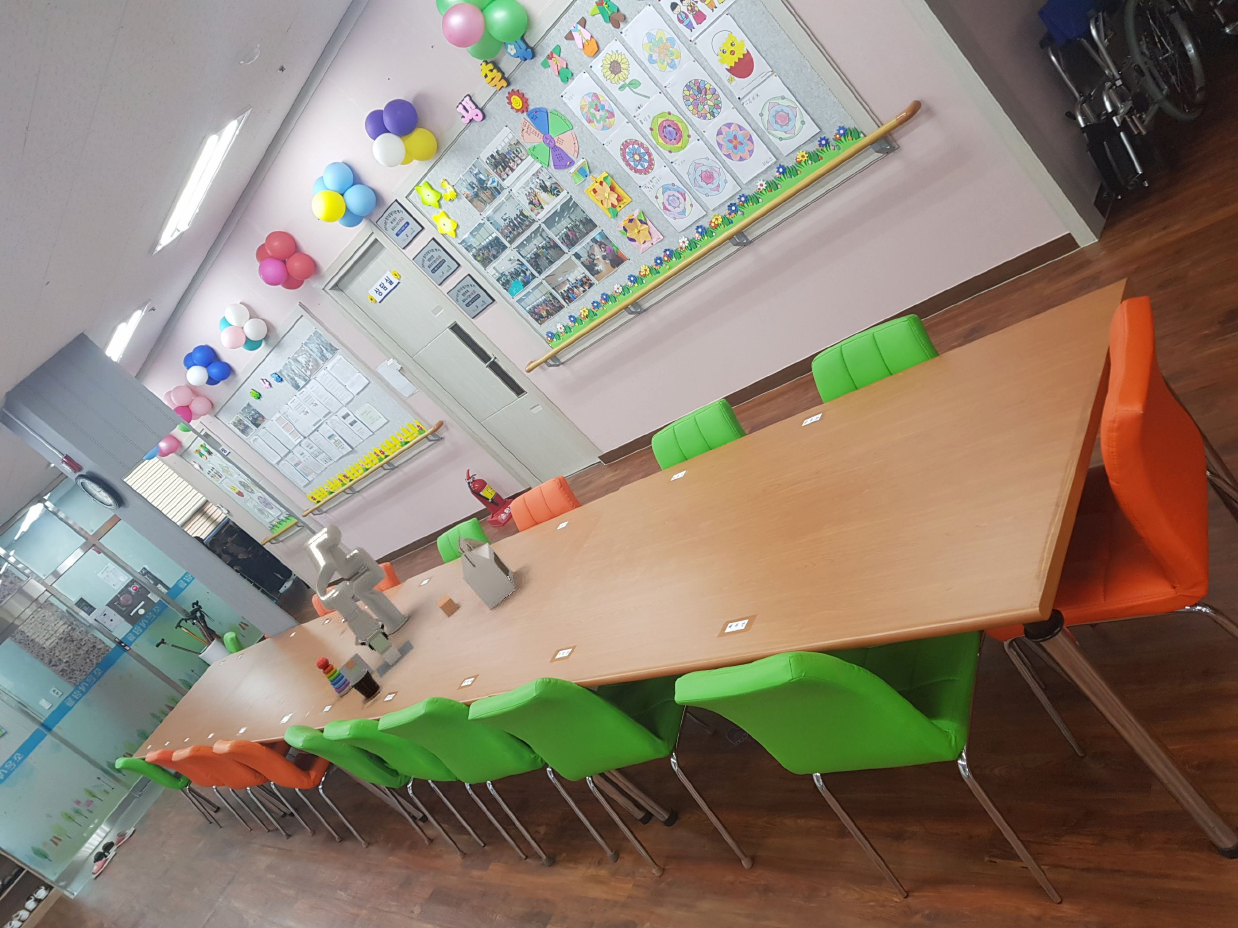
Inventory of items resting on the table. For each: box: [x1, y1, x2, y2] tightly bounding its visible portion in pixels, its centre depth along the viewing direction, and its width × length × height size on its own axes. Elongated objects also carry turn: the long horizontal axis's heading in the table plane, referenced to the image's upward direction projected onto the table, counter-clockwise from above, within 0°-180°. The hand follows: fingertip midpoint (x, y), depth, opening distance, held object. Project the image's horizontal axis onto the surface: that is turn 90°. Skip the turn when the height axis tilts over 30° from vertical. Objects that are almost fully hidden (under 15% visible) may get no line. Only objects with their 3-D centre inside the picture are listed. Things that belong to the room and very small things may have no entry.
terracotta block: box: [436, 594, 460, 618], centre depth 361 cm, size 8×6×6 cm
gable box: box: [457, 535, 517, 610], centre depth 338 cm, size 22×13×28 cm, turn 13°
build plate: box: [375, 640, 415, 679], centre depth 352 cm, size 14×18×1 cm
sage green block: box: [367, 630, 391, 654], centre depth 349 cm, size 8×6×6 cm
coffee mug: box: [350, 669, 381, 701], centre depth 332 cm, size 12×9×10 cm
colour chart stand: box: [337, 652, 375, 683], centre depth 353 cm, size 4×10×12 cm, turn 120°
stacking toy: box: [316, 657, 353, 697], centre depth 359 cm, size 8×8×19 cm
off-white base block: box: [379, 642, 402, 666], centre depth 351 cm, size 8×6×6 cm
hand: (381, 644), depth 349 cm, fingers closed on sage green block, 5 cm apart
